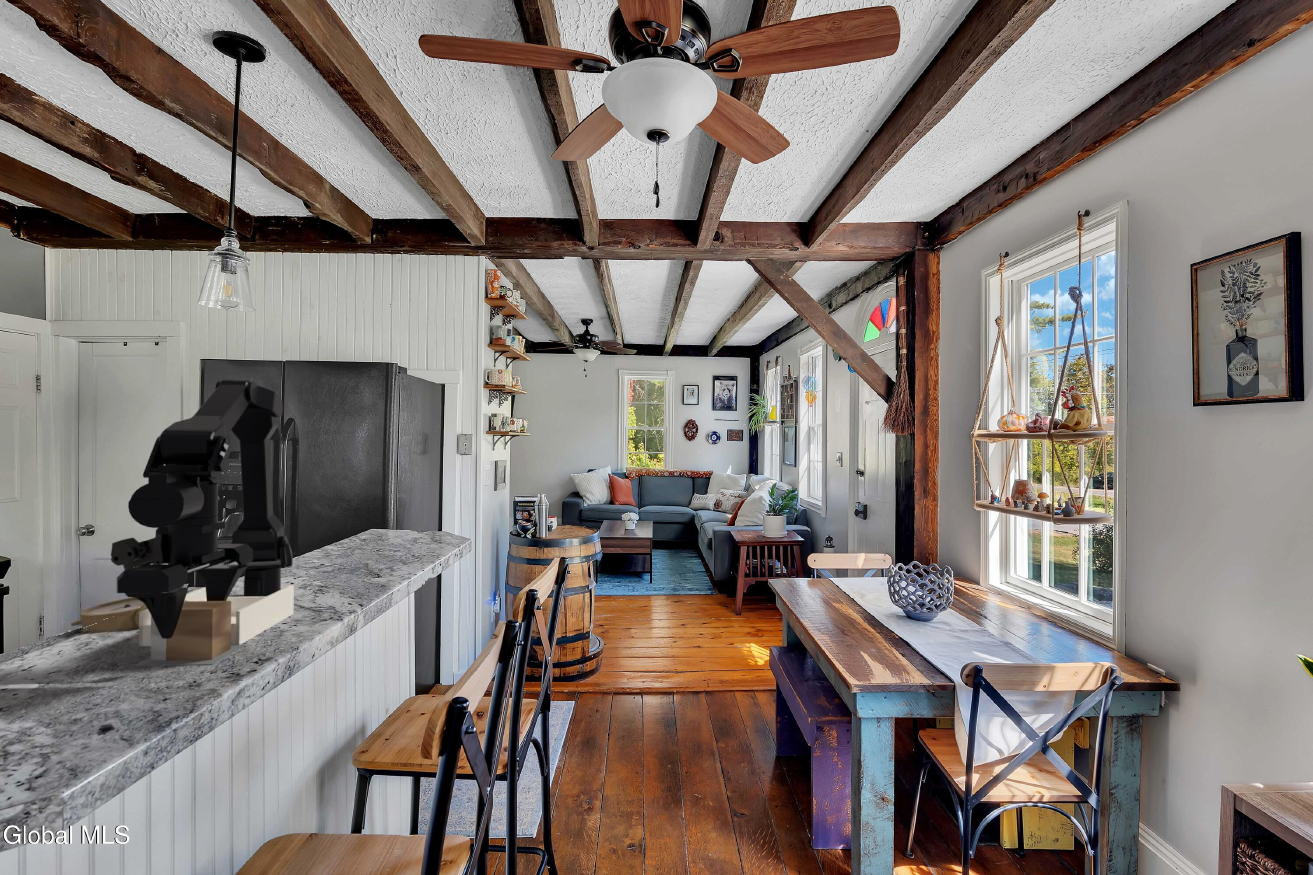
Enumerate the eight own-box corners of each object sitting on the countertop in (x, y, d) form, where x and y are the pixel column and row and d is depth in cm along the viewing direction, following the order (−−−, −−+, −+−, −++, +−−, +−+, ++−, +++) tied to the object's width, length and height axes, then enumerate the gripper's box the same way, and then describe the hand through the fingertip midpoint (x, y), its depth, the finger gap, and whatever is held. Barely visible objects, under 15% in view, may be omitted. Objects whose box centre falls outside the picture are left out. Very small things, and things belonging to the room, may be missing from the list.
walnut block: (172, 649, 84) (173, 600, 84) (231, 648, 85) (231, 600, 85) (150, 660, 80) (150, 609, 80) (211, 659, 81) (212, 608, 81)
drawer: (208, 617, 101) (208, 585, 100) (293, 616, 102) (293, 584, 102) (138, 649, 86) (139, 612, 86) (239, 647, 87) (239, 611, 87)
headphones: (112, 598, 101) (207, 581, 104) (117, 626, 101) (212, 607, 104) (58, 619, 90) (165, 598, 93) (64, 650, 90) (171, 629, 93)
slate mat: (172, 650, 85) (172, 646, 85) (244, 649, 86) (244, 644, 86) (133, 669, 78) (133, 665, 78) (212, 668, 79) (212, 663, 79)
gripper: (180, 507, 91) (179, 607, 91) (70, 527, 72) (69, 652, 72) (255, 508, 92) (254, 606, 92) (165, 527, 73) (164, 651, 73)
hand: (191, 626), depth 82 cm, fingers open, 9 cm apart
